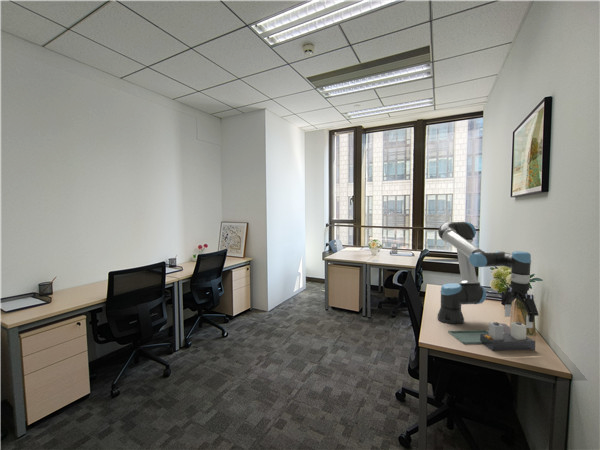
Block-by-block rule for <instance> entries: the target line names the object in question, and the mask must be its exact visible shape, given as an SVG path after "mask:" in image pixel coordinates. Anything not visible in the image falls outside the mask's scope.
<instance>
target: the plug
mask: <svg viewBox="0 0 600 450" xmlns="http://www.w3.org/2000/svg"><path fill="white" fill-rule="evenodd" d="M510 327H511V337H513V338H515V339H517V340H526V336H527V328H526V324H523V323H522V322H520V321H514V322H510Z"/></svg>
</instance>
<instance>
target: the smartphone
mask: <svg viewBox="0 0 600 450" xmlns="http://www.w3.org/2000/svg"><path fill="white" fill-rule="evenodd" d="M498 323H499V322H498ZM499 324H501V325H502V326H504V329H503V334H504V333H511V329H510V327H511V326H509V325H508V324H507V323H499Z"/></svg>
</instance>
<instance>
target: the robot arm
mask: <svg viewBox="0 0 600 450" xmlns="http://www.w3.org/2000/svg"><path fill="white" fill-rule="evenodd" d="M437 230H438V231H437V233H438V236H439V237H440V239H441V240H442V241H444V243H449V244H450V245H451V246H453V247H454V248H455V249H456V252H457V260H458V265H459V273H460V281H459V283H456V282H454V283H453V282H452V283H451V282H449V283H444V284H442V285H441V287H440V307H439V310H438V313H437V320H438V321H439V322H440V323H444V324H449V325H456V326H458V325H464V323H465V317H464V315H463V312H462V305H480V304H483V303H484V302H485V301H486V298H487V291H486V289H485V287H484V286H483V285H481V282H480V281H479V280H477V274H476V269H475V268H488V267H491V268H492V267H494V268H495V267H504V268H505V267H506V268H510V269H511V271H510V272H511V273H510V287H509V286H507V287H506V291H505V293H504V295H503V296H502V298H501V302H502V303H503V304H504V317H505V318H509V317H512V316H511V313H512V305H511V303H512V302H513V301H515V300H518V301H519V302H521V304H522V305H523V307H524V309H525V311H526V312H527V313H526V318H525V319H526V322H525V325H526V329H533V327H534V321H535V317H537V316H539V315H540V314H539V311H538V309H537V305H536V302H535V299H534V298H535V297H534V295H533V294H528V291H529V290H530V282H531V263H532V254H531V253H530V252H529V251H519V250H514V251H512V253H510V252H505V251H499V250H497V251H495V252H485V251H484V250H483V249H480V248H479V247H477V246H476V245H475V244H473V243H472V242H473V241H474V238H475V237H476V234H477V231H476V227H475V226H474V224H473V223H471V222H469V221H448V222H443V223H442V224H440V225H439V227H438V229H437Z"/></svg>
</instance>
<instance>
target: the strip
mask: <svg viewBox="0 0 600 450" xmlns="http://www.w3.org/2000/svg"><path fill="white" fill-rule="evenodd" d="M480 341H482V344H481V345H483V346H485V347H486V348H487V349H489V350H490V351H492V352H498V351H499V352H500V351H502V352H505V351H507V352H509V351H536V340H534V339H532V338H530V337H529V336H527V335H526V340H517V339H515V338H513V337H511V333H503V340H493V339H492V337H490V336H489V334H480Z"/></svg>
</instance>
